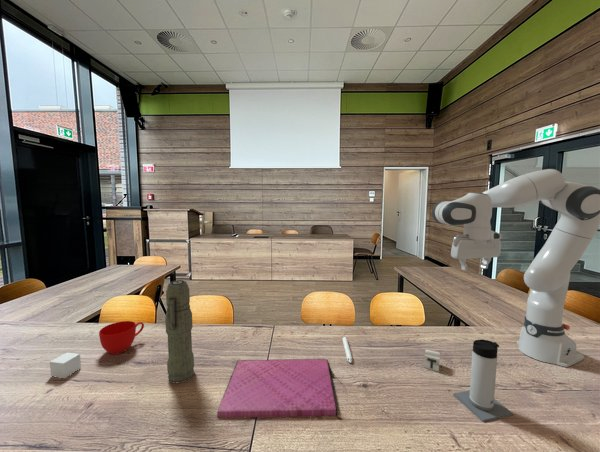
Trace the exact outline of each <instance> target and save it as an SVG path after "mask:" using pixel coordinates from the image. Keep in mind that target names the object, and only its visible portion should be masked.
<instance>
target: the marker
mask: <svg viewBox="0 0 600 452" xmlns="http://www.w3.org/2000/svg"><path fill="white" fill-rule="evenodd" d="M342 343H343V347H344V351H345V355H346V360H347V362H348V363H349V364H352V362H353V356H352V352H351V349H350V345H349V341H348V339H347V337H346V336H343V337H342Z"/></svg>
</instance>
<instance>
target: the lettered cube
mask: <svg viewBox="0 0 600 452" xmlns="http://www.w3.org/2000/svg"><path fill="white" fill-rule="evenodd" d="M440 354H441V353H440V352H439V351H435V350H431V349H425V351H424V365H423V366H424V367H423V368H424V369H428V370H431V371H435V372H439V373H440V359H441V358H440V356H441V355H440Z"/></svg>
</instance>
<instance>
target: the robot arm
mask: <svg viewBox="0 0 600 452" xmlns="http://www.w3.org/2000/svg"><path fill="white" fill-rule="evenodd" d="M537 202H539V204H541V205H542V206H545V207H548V208H549V209H551V210H554V211H557V212H560V218H559V220H558V221H557V223H556V224H555V225H554V227H553V229H552V231H551V233H550V235H549V236H548V238H547V240H546V241H545V243H544V244H543V246H542V247H541V249H540V250H539V251H538V253H537V254H536V256H535V257H534V258H533V260H532V262H531V263H530V265H529V266H528V268H527V269H526V270H525V272H524V273H523V280H524V281H523V282H524V284H525V285H526V286H527V287H528V288H529V289H530V291H529V295H528V298H527V301H526V310H525V311H526V312H525V317H524V319H523V326H522V327H521V330H520V335H519V339H517V341H516V344H517V345H518V347H517V348H518V350H519V351H520V352H521V353H522V354H524V355H525V356H528V357H530V358H532V359H534V360H537V361H540V362H544V363H546V364H547V363H548V364H552V365H553V364H554V365H557V366H560V367H564V368H569V367H571V366H573V365H575V364H577V363H579V362H580V361H583V360H584V359H585V355H584V354H582V353H580V352H579V351H577V343H576V341H574V340H573V339H572V338H571V337H569V336H568V335H567V334H566V332H565V330H566V331H569V330H570V329H571V326H570V325H569V324H565V323H563V320H564V319H563V318H564V317H563V316H564V307H565V302H566V300H567V294H568V291H569V290H568V289H569V284H570V279H571V271H572V269H573V268H574V267H575V265H576V264H577V263H578V262H579V261H580V259H581V258H582V256H583V255H584V254H585V252H586V250H587V248H588V247H589V245H590V244H591V242H592V240H593V239H594V237H595V235H596V234H597V231H598V229H599V228H600V188H597V187H595V186H589V185H587V184H584V183H579V182H575V181H573V182H572V181H567V180H566V179H565V176H564V175H563V174H562V172H561V171H559V170H557V169H555V168H546V169H541V170H536V171H531V172H528V173H524V174H522V175H519V176H516V177H515V176H514V177H513V178H511V179H509V180H506V181H504V182H502V183H500V184H498V185H496V186H493V187H492V188H489V189H487V190H485V191H482V192H475V191H473V192H468V193H467V194H465V195H464V196H461V197H459V198H457V199H454V200H451V201H450V200H442V201H438V202H436V203H435V205H433V207H432V210H431V217H432V219H433V220H434V221H435V222H436V223H438V224H440V225H448V226H454V227H456V226H461V225H463V234H457V235H456V236H455V237H453V240H452V241H453V242H452V243H451V244H452V245H451V251H450V257H451V258H453V259H456V260H458V262H459V263H460V265H461V267H460V269H461V270H462V271H468V270H469V265H468V264H467V263H466V262H467V260H471V259H473V260H474V259H483V261H482V263H480V268H481V269H484V270H487V269H488V268H489V264H490V262H491V261H492V258H498V257H500V255H501V249H502V242H501V239H502V233H499V232H497V231H494V230H492V225H491V219H492V217H493V216H492V215H493V209H494V208H500V209H501V208H503V209H504V208H508V209H510V208H518V207H523V206H527V205H530V204H531V205H532V204H534V203H537Z"/></svg>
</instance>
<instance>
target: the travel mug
mask: <svg viewBox="0 0 600 452" xmlns="http://www.w3.org/2000/svg"><path fill="white" fill-rule="evenodd" d="M472 343H473V344H472V353H471V369H470V383H469V390H470V396H469V400H470V402H471V403H472V404H473V405H474V406H475V407H477V408H478V409H481V410H484V411H491V410H493V407H494V399H495V393H496V392H495V390H496V381H497V379H496V378H497V364H498V363H497V362H498V351H499V350H498V348H500V345H499V344H498V343H497V342H496V341H495V342H494V341H491V340H488V339H476V340H473V342H472Z"/></svg>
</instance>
